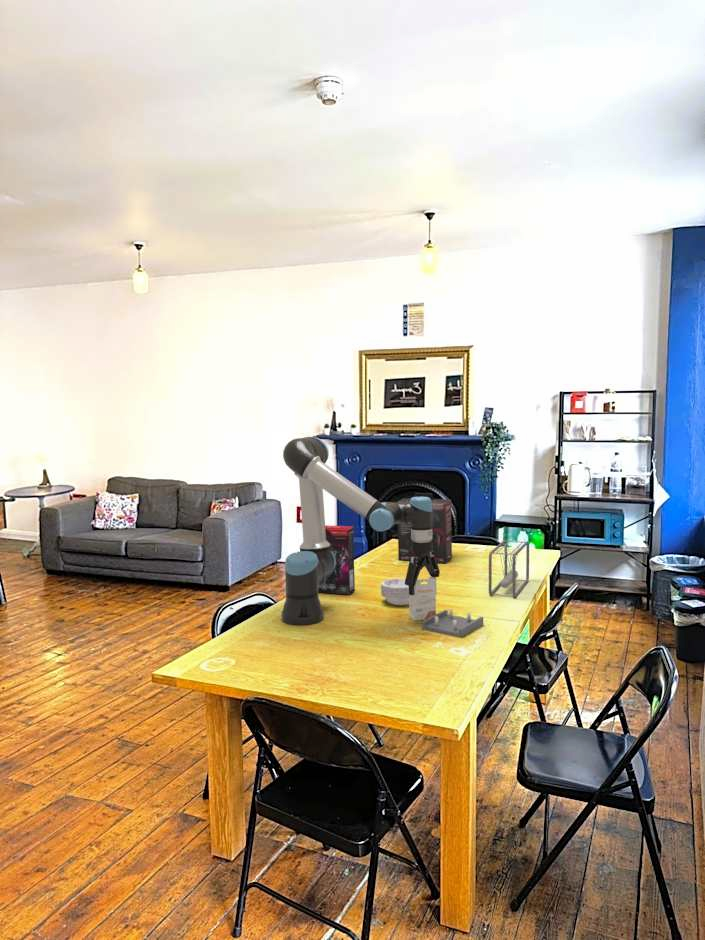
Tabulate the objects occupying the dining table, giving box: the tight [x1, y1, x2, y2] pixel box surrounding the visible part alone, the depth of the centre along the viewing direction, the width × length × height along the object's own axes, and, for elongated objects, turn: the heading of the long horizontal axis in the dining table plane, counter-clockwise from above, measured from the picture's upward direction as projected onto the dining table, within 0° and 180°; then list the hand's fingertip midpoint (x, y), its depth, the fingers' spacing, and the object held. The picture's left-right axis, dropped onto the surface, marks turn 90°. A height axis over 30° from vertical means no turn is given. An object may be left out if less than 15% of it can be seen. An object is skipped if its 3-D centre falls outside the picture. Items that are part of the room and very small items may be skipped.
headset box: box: [396, 492, 453, 564], centre depth 339 cm, size 25×12×33 cm, turn 68°
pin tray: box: [421, 608, 484, 639], centre depth 238 cm, size 16×15×4 cm
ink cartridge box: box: [408, 578, 437, 622], centre depth 248 cm, size 9×5×15 cm, turn 105°
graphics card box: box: [318, 524, 356, 596], centre depth 283 cm, size 17×7×27 cm, turn 71°
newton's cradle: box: [488, 539, 530, 599], centre depth 285 cm, size 30×10×18 cm, turn 155°
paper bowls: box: [380, 578, 409, 606], centre depth 268 cm, size 15×15×8 cm
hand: (423, 599), depth 248 cm, fingers open, 13 cm apart
